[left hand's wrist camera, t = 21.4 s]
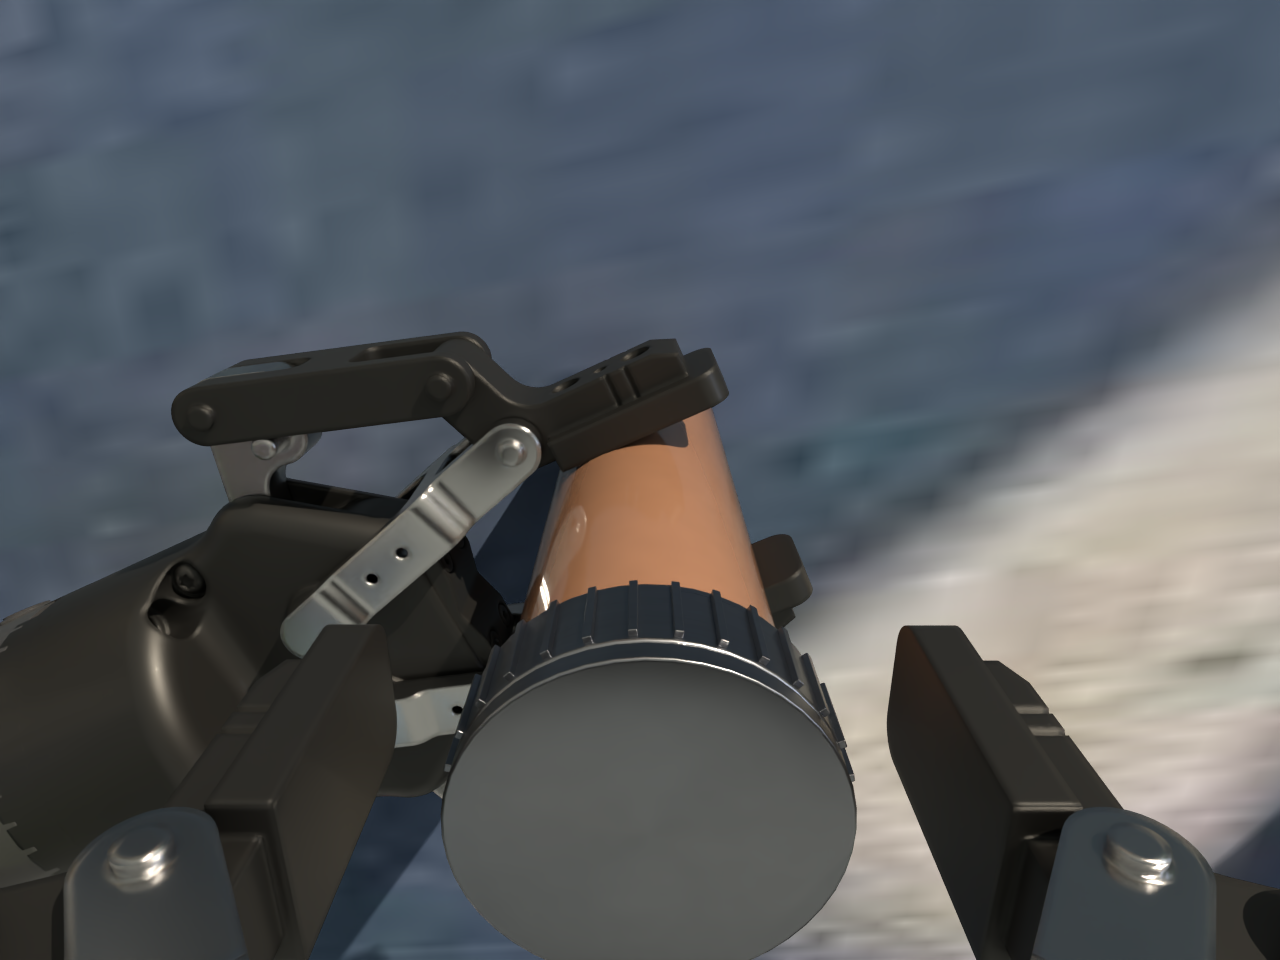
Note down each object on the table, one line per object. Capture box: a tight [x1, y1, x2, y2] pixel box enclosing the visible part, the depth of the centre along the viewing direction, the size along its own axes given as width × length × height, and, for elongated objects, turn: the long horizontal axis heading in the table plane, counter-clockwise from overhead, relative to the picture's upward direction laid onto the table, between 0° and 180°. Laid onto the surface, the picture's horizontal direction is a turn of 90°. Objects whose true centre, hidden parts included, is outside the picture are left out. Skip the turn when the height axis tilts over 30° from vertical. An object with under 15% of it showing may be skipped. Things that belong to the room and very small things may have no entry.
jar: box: [520, 408, 776, 628], centre depth 17 cm, size 4×4×15 cm
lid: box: [441, 580, 857, 960], centre depth 10 cm, size 5×5×2 cm
